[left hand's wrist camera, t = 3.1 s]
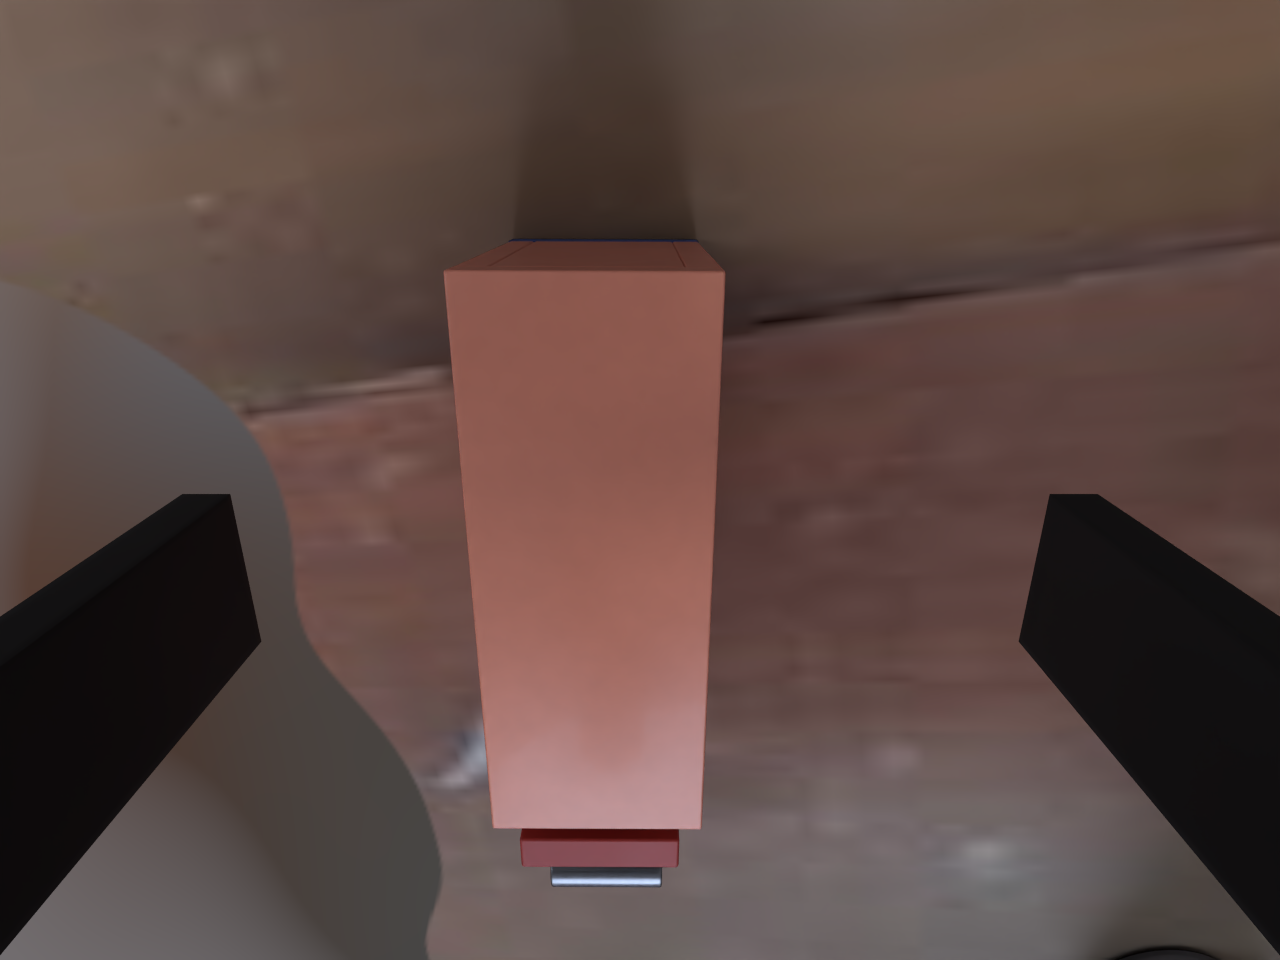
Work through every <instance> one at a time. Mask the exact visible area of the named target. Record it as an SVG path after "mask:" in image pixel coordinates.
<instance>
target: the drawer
mask: <svg viewBox="0 0 1280 960" xmlns="http://www.w3.org/2000/svg"><path fill="white" fill-rule="evenodd" d="M520 846H521V860H522V866H524V867H551V884H552V886H553V887H661V885H662V867H677V866H678V864H679V829H546V828H522V832H521V837H520Z"/></svg>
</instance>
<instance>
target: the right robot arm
mask: <svg viewBox="0 0 1280 960" xmlns="http://www.w3.org/2000/svg"><path fill="white" fill-rule="evenodd" d="M1120 960H1216V959H1214V958H1211V957H1209V956H1206V955H1203V954H1199V953H1195V952H1190V951H1181V950H1161V951H1152V952H1145V953H1140V954H1136V955H1132V956H1129V957H1126V958H1123V959H1120Z"/></svg>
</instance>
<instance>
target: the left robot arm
mask: <svg viewBox="0 0 1280 960" xmlns="http://www.w3.org/2000/svg"><path fill="white" fill-rule="evenodd" d="M260 642H261V638H260V633H259V629H258V624H257V619H256V615H255V610H254V605H253V600H252V595H251V591H250V586H249V581H248V576H247V572H246V567H245V562H244V557H243V553H242V548H241V543H240V539H239V534H238V529H237V524H236V519H235V515H234V510H233V505H232V501H231V496H230V494H182V495H180V496H179V497H177V498H176V499H174V500H173V501H171V502H170V503H169V504H167V505H166V506H164V507H163V508H161V509H160V510H158V511H157V512H155V513H154V514H152V515H151V516H149V517H148V518H146V519H145V520H143V521H142V522H140V523H139V524H137V525H136V526H134V527H133V528H131V529H130V530H128V531H127V532H125V533H124V534H123V535H121V536H119V537H118V538H116V539H115V540H114V541H112V542H111V543H109V544H108V545H106V546H105V547H103V548H102V549H100V550H99V551H97V552H96V553H94V554H93V555H91V556H90V557H88V558H87V559H85V560H84V561H82V562H81V563H79V564H78V565H76V566H75V567H73V568H72V569H70V570H69V571H67V572H66V573H64V574H63V575H62V576H60V577H59V578H57V579H55V580H54V581H53V582H51V583H50V584H48V585H47V586H45V587H44V588H42V589H41V590H39V591H38V592H36V593H35V594H33V595H32V596H30V597H29V598H27V599H26V600H24V601H23V602H21V603H20V604H18V605H17V606H15V607H14V608H12V609H11V610H9V611H8V612H6V613H5V614H3V615H2V616H0V955H1V954H2V952H3V951H4V950H5V949H6V948H7V946H8V945H9V944H10V943H11V941H12V940H13V939H14V938H15V937H16V935H17V934H18V933H19V932H20V931H21V930H22V928H23V927H24V926H25V925H26V924H27V922H28V921H29V920H30V919H31V917H32V916H33V915H34V914H35V913H36V912H37V910H38V909H39V908H40V907H41V905H42V904H43V903H44V902H45V901H46V899H47V898H48V897H49V896H50V895H51V893H52V892H53V891H54V890H55V889H56V887H57V886H58V885H59V884H60V883H61V881H62V880H63V879H64V878H65V877H66V875H67V874H68V873H69V872H70V871H71V869H72V868H73V867H74V866H75V865H76V863H77V862H78V861H79V860H80V859H81V857H82V856H83V855H84V854H85V853H86V851H87V850H88V849H89V848H90V847H91V845H92V844H93V843H94V842H95V841H96V839H97V838H98V837H99V836H100V835H101V833H102V832H103V831H104V830H105V829H106V827H107V826H108V825H109V824H110V823H111V821H112V820H113V819H114V818H115V817H116V815H117V814H118V813H119V812H120V811H121V809H122V808H123V807H124V806H125V805H126V803H127V802H128V801H129V800H130V799H131V797H132V796H133V795H134V794H135V793H136V791H137V790H138V789H139V788H140V787H141V785H142V784H143V783H144V782H145V781H146V779H147V778H148V777H149V776H150V775H151V773H152V772H153V771H154V770H155V768H156V767H157V766H158V765H159V764H160V762H161V761H162V760H163V759H164V758H165V757H166V755H167V754H168V753H169V752H170V750H171V749H172V748H173V747H174V746H175V744H176V743H177V742H178V741H179V740H180V739H181V737H182V736H183V735H184V734H185V732H186V731H187V730H188V729H189V728H190V726H191V725H192V724H193V723H194V722H195V720H196V719H197V718H198V717H199V716H200V714H201V713H202V712H203V711H204V710H205V708H206V707H207V706H208V705H209V704H210V702H211V701H212V700H213V699H214V698H215V696H216V695H217V694H218V693H219V692H220V690H221V689H222V688H223V687H224V686H225V684H226V683H227V682H228V681H229V680H230V678H231V677H232V676H233V675H234V674H235V672H236V671H237V670H238V669H239V668H240V666H241V665H242V664H243V663H244V662H245V660H246V659H247V658H248V657H249V656H250V654H251V653H252V652H253V651H254V650H255V648H256V647H257V646H258V645H259V644H260ZM1019 642H1020V644H1021V645H1022V646H1023V647H1024V648H1025V650H1026V651H1027V652H1028V653H1029V654H1030V656H1031V657H1032V658H1033V659H1034V660H1035V662H1036V663H1037V664H1038V665H1039V666H1040V668H1041V669H1042V670H1043V671H1044V672H1045V674H1046V675H1047V676H1048V677H1049V678H1050V680H1051V681H1052V682H1053V683H1054V684H1055V686H1056V687H1057V688H1058V689H1059V690H1060V692H1061V693H1062V694H1063V695H1064V696H1065V698H1066V699H1067V700H1068V701H1069V702H1070V704H1071V705H1072V706H1073V707H1074V708H1075V710H1076V711H1077V712H1078V713H1079V714H1080V716H1081V717H1082V718H1083V719H1084V720H1085V722H1086V723H1087V724H1088V725H1089V726H1090V728H1091V729H1092V730H1093V731H1094V732H1095V734H1096V735H1097V736H1098V737H1099V739H1100V740H1101V741H1102V742H1103V743H1104V745H1105V746H1106V747H1107V748H1108V749H1109V751H1110V752H1111V753H1112V754H1113V755H1114V757H1115V758H1116V759H1117V760H1118V761H1119V763H1120V764H1121V765H1122V766H1123V767H1124V769H1125V770H1126V771H1127V772H1128V773H1129V775H1130V776H1131V777H1132V778H1133V779H1134V781H1135V782H1136V783H1137V784H1138V785H1139V787H1140V788H1141V789H1142V790H1143V791H1144V793H1145V794H1146V795H1147V796H1148V797H1149V799H1150V800H1151V801H1152V802H1153V803H1154V805H1155V806H1156V807H1157V808H1158V809H1159V811H1160V812H1161V813H1162V814H1163V815H1164V817H1165V818H1166V819H1167V820H1168V821H1169V823H1170V824H1171V825H1172V826H1173V827H1174V829H1175V830H1176V831H1177V832H1178V833H1179V835H1180V836H1181V837H1182V838H1183V839H1184V841H1185V842H1186V843H1187V844H1188V845H1189V847H1190V848H1191V849H1192V850H1193V851H1194V853H1195V854H1196V855H1197V856H1198V857H1199V859H1200V860H1201V861H1202V862H1203V863H1204V865H1205V866H1206V867H1207V868H1208V869H1209V871H1210V872H1211V873H1212V874H1213V875H1214V877H1215V878H1216V879H1217V880H1218V881H1219V883H1220V884H1221V885H1222V886H1223V887H1224V889H1225V890H1226V891H1227V892H1228V893H1229V895H1230V896H1231V897H1232V898H1233V899H1234V901H1235V902H1236V903H1237V904H1238V905H1239V907H1240V908H1241V909H1242V910H1243V912H1244V913H1245V914H1246V915H1247V916H1248V918H1249V919H1250V920H1251V921H1252V922H1253V924H1254V925H1255V926H1256V927H1257V928H1258V930H1259V931H1260V932H1261V933H1262V934H1263V936H1264V937H1265V938H1266V939H1267V940H1268V942H1269V943H1270V944H1271V945H1272V946H1273V948H1274V949H1275V950H1276V951H1277V952H1278V954H1279V955H1280V616H1278V615H1277V614H1275V613H1274V612H1272V611H1271V610H1269V609H1268V608H1266V607H1265V606H1263V605H1262V604H1260V603H1259V602H1257V601H1256V600H1254V599H1253V598H1251V597H1250V596H1248V595H1247V594H1245V593H1244V592H1242V591H1241V590H1239V589H1238V588H1236V587H1235V586H1233V585H1232V584H1230V583H1229V582H1227V581H1226V580H1225V579H1223V578H1222V577H1220V576H1219V575H1217V574H1216V573H1214V572H1213V571H1211V570H1210V569H1208V568H1207V567H1205V566H1204V565H1202V564H1201V563H1199V562H1198V561H1196V560H1195V559H1193V558H1192V557H1190V556H1189V555H1187V554H1186V553H1184V552H1183V551H1181V550H1180V549H1178V548H1177V547H1175V546H1174V545H1172V544H1171V543H1169V542H1168V541H1167V540H1165V539H1164V538H1162V537H1161V536H1159V535H1158V534H1156V533H1155V532H1153V531H1152V530H1150V529H1149V528H1147V527H1146V526H1144V525H1143V524H1141V523H1140V522H1138V521H1137V520H1135V519H1134V518H1132V517H1131V516H1129V515H1128V514H1126V513H1125V512H1123V511H1122V510H1120V509H1119V508H1117V507H1116V506H1114V505H1113V504H1111V503H1110V502H1109V501H1107V500H1106V499H1104V498H1103V497H1101V496H1100V495H1098V494H1050V496H1049V501H1048V505H1047V510H1046V515H1045V519H1044V524H1043V529H1042V534H1041V538H1040V543H1039V548H1038V553H1037V557H1036V562H1035V567H1034V572H1033V576H1032V581H1031V586H1030V591H1029V595H1028V600H1027V605H1026V610H1025V614H1024V619H1023V624H1022V629H1021V633H1020V638H1019Z"/></svg>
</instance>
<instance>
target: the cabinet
mask: <svg viewBox="0 0 1280 960" xmlns="http://www.w3.org/2000/svg"><path fill="white" fill-rule="evenodd" d="M725 275H726V273H725V271H724V270H723V269H722V268H721V267H720V265H719V264H718V263H717V262H716V261H715V260H714V259H713V258H712V257H711V256H710V255H709V254H708V253H707V252H706V251H705V250H704V248H703V247H702V246H701V245H700V244H699V243H698V241H697V240H664V239H512V240H510V241H509V242H508V243H506V244H504V245H501V246H499V247H497V248H495V249H492V250H490V251H488V252H486V253H483V254H481V255H479V256H477V257H474V258H472V259H470V260H468V261H465V262H463V263H461V264H458V265H456V266H453V267H451V268H449V269H446V270H444V282H445V294H446V305H447V316H448V328H449V339H450V350H451V362H452V373H453V384H454V395H455V407H456V418H457V429H458V441H459V452H460V463H461V475H462V486H463V497H464V509H465V520H466V531H467V543H468V554H469V565H470V576H471V588H472V599H473V610H474V622H475V633H476V644H477V656H478V667H479V678H480V690H481V701H482V712H483V724H484V735H485V746H486V758H487V769H488V780H489V791H490V803H491V814H492V825H493V828H546V829H701V827H702V808H703V785H704V762H705V739H706V715H707V692H708V669H709V646H710V623H711V600H712V576H713V553H714V530H715V507H716V484H717V461H718V437H719V414H720V391H721V368H722V345H723V322H724V298H725Z"/></svg>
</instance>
